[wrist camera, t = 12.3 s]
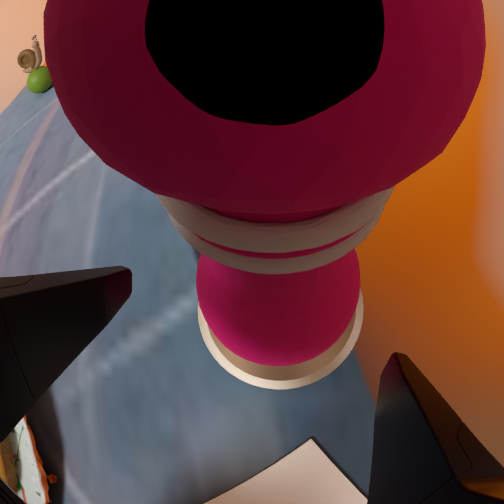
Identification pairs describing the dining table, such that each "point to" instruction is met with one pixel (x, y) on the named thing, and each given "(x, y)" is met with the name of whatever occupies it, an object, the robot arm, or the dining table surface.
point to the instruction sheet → (296, 482)
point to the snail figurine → (35, 69)
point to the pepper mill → (268, 136)
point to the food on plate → (24, 465)
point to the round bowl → (285, 374)
